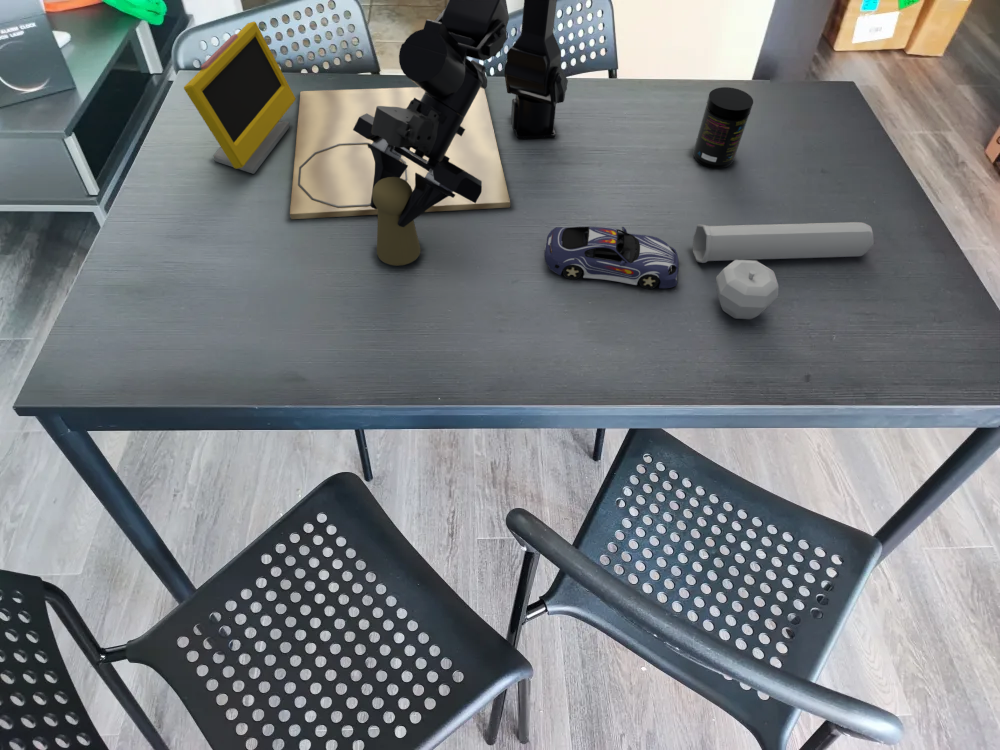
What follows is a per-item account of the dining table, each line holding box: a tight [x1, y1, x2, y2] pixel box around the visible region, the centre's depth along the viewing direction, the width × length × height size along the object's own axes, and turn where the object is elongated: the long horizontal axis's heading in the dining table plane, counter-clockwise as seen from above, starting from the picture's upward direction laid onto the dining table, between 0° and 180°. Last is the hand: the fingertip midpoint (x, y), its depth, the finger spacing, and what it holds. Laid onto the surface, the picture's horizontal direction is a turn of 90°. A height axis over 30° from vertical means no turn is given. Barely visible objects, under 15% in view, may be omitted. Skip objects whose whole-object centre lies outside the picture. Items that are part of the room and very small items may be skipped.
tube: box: [692, 221, 875, 264], centre depth 98 cm, size 5×5×25 cm
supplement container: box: [692, 86, 754, 169], centre depth 111 cm, size 7×7×10 cm
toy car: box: [543, 225, 680, 290], centre depth 96 cm, size 8×18×5 cm, turn 82°
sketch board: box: [289, 86, 511, 220], centre depth 113 cm, size 32×34×1 cm
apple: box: [715, 260, 779, 320], centre depth 90 cm, size 8×8×7 cm
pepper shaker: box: [372, 177, 422, 266], centre depth 93 cm, size 6×6×11 cm
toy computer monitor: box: [183, 21, 297, 174], centre depth 106 cm, size 20×8×16 cm, turn 168°
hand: (386, 216), depth 91 cm, fingers closed on pepper shaker, 5 cm apart
